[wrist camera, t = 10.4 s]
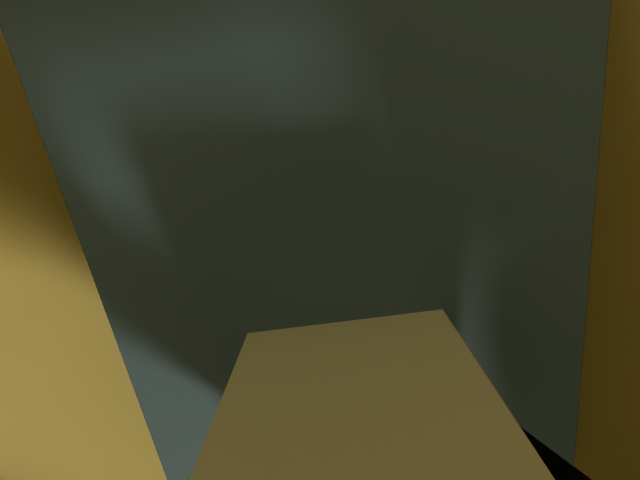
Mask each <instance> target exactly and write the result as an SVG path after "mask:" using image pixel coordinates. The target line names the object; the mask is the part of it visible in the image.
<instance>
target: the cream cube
mask: <svg viewBox="0 0 640 480" xmlns="http://www.w3.org/2000/svg"><path fill="white" fill-rule="evenodd" d="M189 480H555V479H554V477H553V476H552V474H551V473H550V471H549V470H548V468H547V467H546V465H545V464H544V462H543V461H542V459H541V458H540V456H539V455H538V453H537V452H536V450H535V449H534V447H533V446H532V444H531V442H530V441H529V439H528V438H527V436H526V435H525V433H524V432H523V430H522V429H521V427H520V426H519V424H518V423H517V421H516V420H515V418H514V417H513V415H512V414H511V412H510V411H509V409H508V408H507V406H506V405H505V403H504V402H503V400H502V399H501V397H500V396H499V394H498V392H497V391H496V389H495V388H494V386H493V385H492V383H491V382H490V380H489V379H488V377H487V376H486V374H485V373H484V371H483V370H482V368H481V367H480V365H479V364H478V362H477V361H476V359H475V358H474V356H473V355H472V353H471V352H470V350H469V349H468V347H467V345H466V344H465V342H464V341H463V339H462V338H461V336H460V335H459V333H458V332H457V330H456V329H455V327H454V326H453V324H452V323H451V321H450V320H449V318H448V317H447V315H446V314H445V312H444V311H443V309H441V310H433V311H424V312H416V313H408V314H400V315H392V316H384V317H375V318H367V319H359V320H351V321H343V322H335V323H326V324H318V325H310V326H302V327H294V328H286V329H278V330H269V331H261V332H253V333H248V334H247V336H246V339H245V341H244V344H243V346H242V349H241V351H240V354H239V356H238V359H237V361H236V364H235V366H234V369H233V371H232V374H231V376H230V378H229V381H228V383H227V386H226V388H225V391H224V393H223V396H222V398H221V401H220V403H219V406H218V408H217V411H216V413H215V416H214V418H213V421H212V423H211V426H210V428H209V431H208V433H207V436H206V438H205V441H204V443H203V446H202V448H201V451H200V453H199V456H198V458H197V461H196V463H195V466H194V468H193V471H192V473H191V476H190V478H189Z"/></svg>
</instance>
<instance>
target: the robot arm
mask: <svg viewBox="0 0 640 480" xmlns="http://www.w3.org/2000/svg"><path fill="white" fill-rule="evenodd" d="M520 427H521V426H520ZM521 429H522V430H523V432H524V433H525V435H526V436H527V438H528V439H529V441H530V442H531V444H532V446H533V447H534V449H535V450H536V452H537V453H538V455H539V456H540V458H541V459H542V461H543V462H544V464H545V465H546V467H547V468H548V470H549V471H550V473H551V474H552V476H553V477H554V479H555V480H591V479H590V478H589V477H587V476H586V475H585V474H583V473H582V472H581V471H579V470H578V469H577V468H575V467H574V466H573V465H571V464H570V463H569V462H567V461H566V460H565V459H563V458H562V457H561V456H559V455H558V454H557V453H555V452H554V451H553V450H551V449H550V448H549V447H547V446H546V445H545V444H543V443H542V442H541V441H539V440H538V439H537V438H535V437H534V436H533V435H531V434H530V433H529V432H527V431H526V430H525V429H523V428H522V427H521ZM188 480H189V479H188Z"/></svg>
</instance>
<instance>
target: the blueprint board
mask: <svg viewBox="0 0 640 480" xmlns="http://www.w3.org/2000/svg"><path fill="white" fill-rule="evenodd" d="M610 9H611V0H0V26H1V29H2V32H3V34H4V37H5V40H6V42H7V45H8V48H9V51H10V53H11V56H12V59H13V61H14V64H15V67H16V70H17V72H18V75H19V78H20V80H21V83H22V86H23V89H24V91H25V94H26V97H27V99H28V102H29V105H30V108H31V110H32V113H33V116H34V119H35V121H36V124H37V127H38V129H39V132H40V135H41V138H42V140H43V143H44V146H45V148H46V151H47V154H48V157H49V159H50V162H51V165H52V167H53V170H54V173H55V176H56V178H57V181H58V184H59V186H60V189H61V192H62V195H63V197H64V200H65V203H66V205H67V208H68V211H69V214H70V216H71V219H72V222H73V225H74V227H75V230H76V233H77V235H78V238H79V241H80V244H81V246H82V249H83V252H84V254H85V257H86V260H87V263H88V265H89V268H90V271H91V273H92V276H93V279H94V282H95V284H96V287H97V290H98V292H99V295H100V298H101V301H102V303H103V306H104V309H105V312H106V314H107V317H108V320H109V322H110V325H111V328H112V331H113V333H114V336H115V339H116V341H117V344H118V347H119V350H120V352H121V355H122V358H123V360H124V363H125V366H126V369H127V371H128V374H129V377H130V379H131V382H132V385H133V388H134V390H135V393H136V396H137V398H138V401H139V404H140V407H141V409H142V412H143V415H144V418H145V420H146V423H147V426H148V428H149V431H150V434H151V437H152V439H153V442H154V445H155V447H156V450H157V453H158V456H159V458H160V461H161V464H162V466H163V469H164V472H165V475H166V477H167V480H188V479H189V478H190V476H191V473H192V471H193V468H194V466H195V463H196V461H197V458H198V456H199V453H200V451H201V448H202V446H203V443H204V441H205V438H206V436H207V433H208V431H209V428H210V426H211V423H212V421H213V418H214V416H215V413H216V411H217V408H218V406H219V403H220V401H221V398H222V396H223V393H224V391H225V388H226V386H227V383H228V381H229V378H230V376H231V374H232V371H233V369H234V366H235V364H236V361H237V359H238V356H239V354H240V351H241V349H242V346H243V344H244V341H245V339H246V336H247V334H248V333H253V332H261V331H269V330H278V329H286V328H294V327H302V326H310V325H318V324H326V323H335V322H343V321H351V320H359V319H367V318H375V317H384V316H392V315H400V314H408V313H416V312H424V311H433V310H441V309H443V311H444V312H445V314H446V315H447V317H448V318H449V320H450V321H451V323H452V324H453V326H454V327H455V329H456V330H457V332H458V333H459V335H460V336H461V338H462V339H463V341H464V342H465V344H466V345H467V347H468V349H469V350H470V352H471V353H472V355H473V356H474V358H475V359H476V361H477V362H478V364H479V365H480V367H481V368H482V370H483V371H484V373H485V374H486V376H487V377H488V379H489V380H490V382H491V383H492V385H493V386H494V388H495V389H496V391H497V392H498V394H499V396H500V397H501V399H502V400H503V402H504V403H505V405H506V406H507V408H508V409H509V411H510V412H511V414H512V415H513V417H514V418H515V420H516V421H517V423H518V424H519V426H521V427H522V428H523V429H525V430H526V431H527V432H529V433H530V434H531V435H533V436H534V437H535V438H537V439H538V440H539V441H541V442H542V443H543V444H545V445H546V446H547V447H549V448H550V449H551V450H553V451H554V452H555V453H557V454H558V455H559V456H561V457H562V458H563V459H565V460H566V461H567V462H569V463H570V464H571V465H573V466H574V456H575V443H576V431H577V419H578V406H579V394H580V381H581V369H582V356H583V344H584V332H585V319H586V307H587V294H588V282H589V270H590V257H591V245H592V232H593V220H594V207H595V195H596V183H597V170H598V158H599V145H600V133H601V121H602V108H603V96H604V83H605V71H606V58H607V46H608V34H609V21H610Z"/></svg>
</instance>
